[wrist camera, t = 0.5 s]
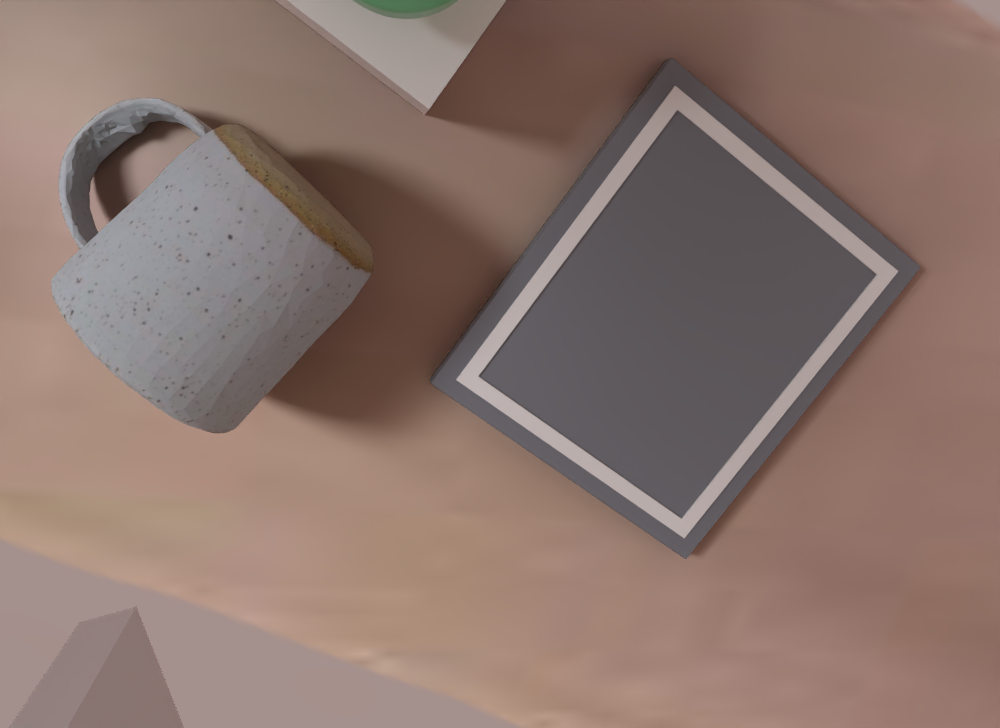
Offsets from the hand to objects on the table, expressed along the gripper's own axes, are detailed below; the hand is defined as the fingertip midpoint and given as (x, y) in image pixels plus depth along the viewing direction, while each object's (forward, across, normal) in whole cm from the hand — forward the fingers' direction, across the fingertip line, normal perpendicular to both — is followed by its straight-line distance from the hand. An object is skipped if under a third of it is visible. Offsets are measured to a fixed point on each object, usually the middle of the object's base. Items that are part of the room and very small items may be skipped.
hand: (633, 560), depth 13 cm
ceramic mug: (+24, -9, +4) cm, 26 cm away
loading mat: (+24, +7, -3) cm, 25 cm away
